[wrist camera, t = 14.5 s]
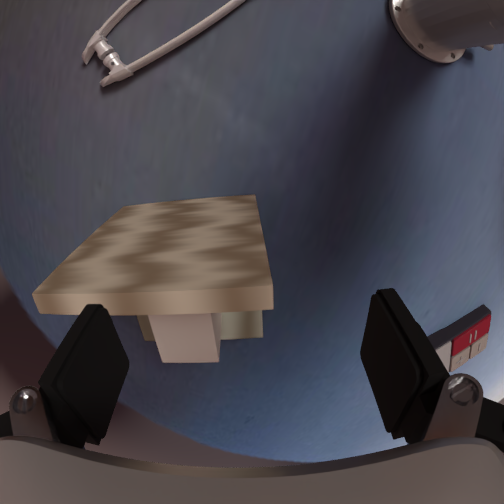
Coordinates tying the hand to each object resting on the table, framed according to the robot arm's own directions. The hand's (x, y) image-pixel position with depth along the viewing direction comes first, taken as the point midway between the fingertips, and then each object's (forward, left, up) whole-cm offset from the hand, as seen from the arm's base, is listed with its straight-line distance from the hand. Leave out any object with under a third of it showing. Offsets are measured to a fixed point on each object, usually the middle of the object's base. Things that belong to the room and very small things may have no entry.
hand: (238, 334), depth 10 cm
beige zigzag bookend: (+6, +11, -26) cm, 29 cm away
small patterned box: (-40, +31, -27) cm, 57 cm away
